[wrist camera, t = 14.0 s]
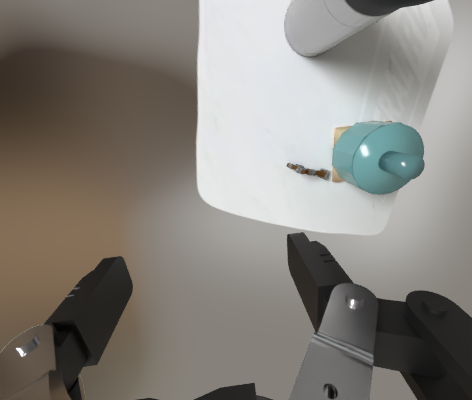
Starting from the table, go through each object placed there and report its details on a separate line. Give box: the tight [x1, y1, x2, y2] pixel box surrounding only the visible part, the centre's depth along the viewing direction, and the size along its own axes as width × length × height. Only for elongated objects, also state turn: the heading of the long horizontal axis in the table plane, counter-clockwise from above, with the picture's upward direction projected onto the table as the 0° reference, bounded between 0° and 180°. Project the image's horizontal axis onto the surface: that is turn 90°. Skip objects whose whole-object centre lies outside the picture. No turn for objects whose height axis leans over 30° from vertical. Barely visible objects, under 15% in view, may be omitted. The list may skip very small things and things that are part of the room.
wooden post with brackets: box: [287, 163, 329, 180], centre depth 44 cm, size 2×8×4 cm, turn 76°
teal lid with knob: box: [332, 121, 424, 194], centre depth 38 cm, size 12×12×13 cm
